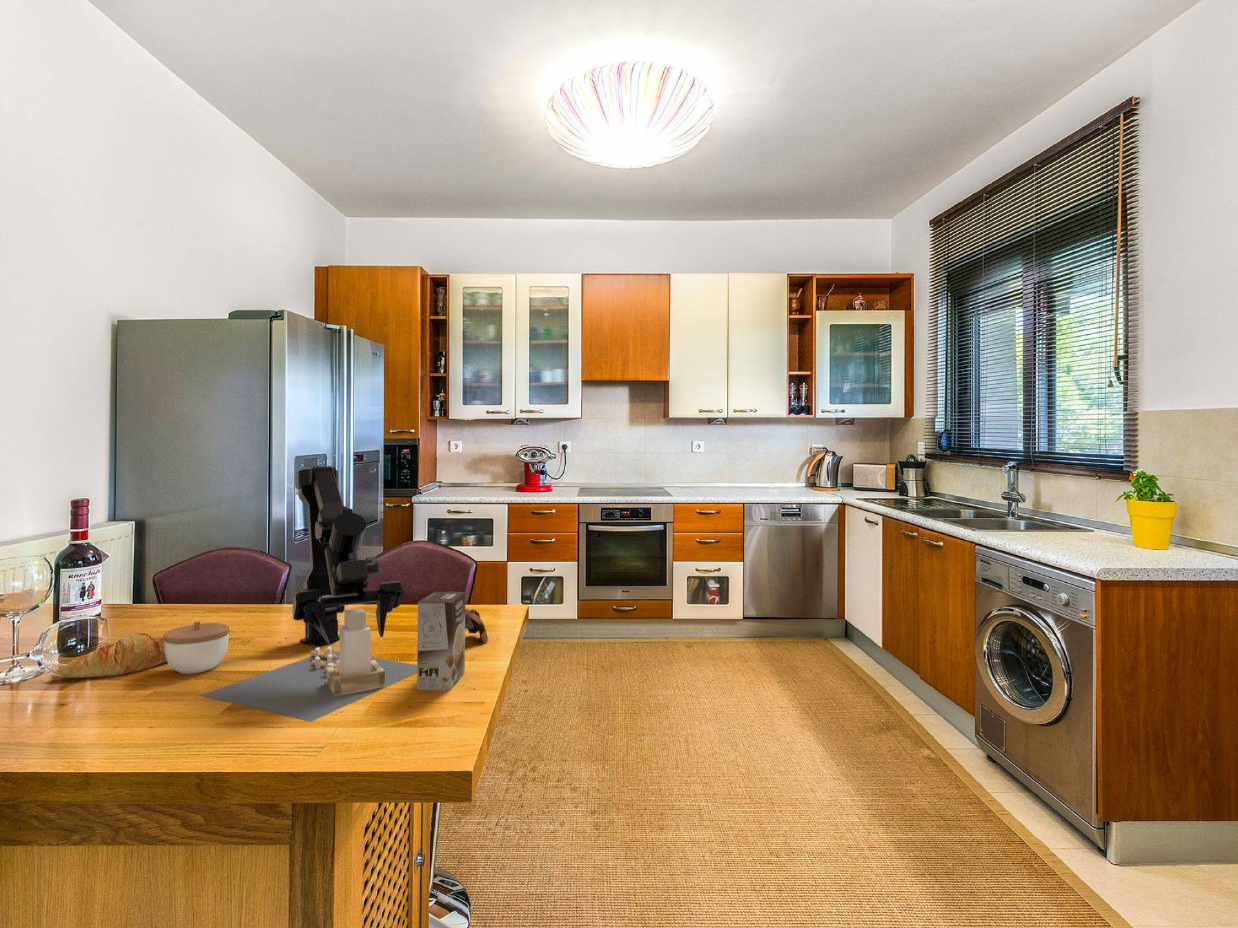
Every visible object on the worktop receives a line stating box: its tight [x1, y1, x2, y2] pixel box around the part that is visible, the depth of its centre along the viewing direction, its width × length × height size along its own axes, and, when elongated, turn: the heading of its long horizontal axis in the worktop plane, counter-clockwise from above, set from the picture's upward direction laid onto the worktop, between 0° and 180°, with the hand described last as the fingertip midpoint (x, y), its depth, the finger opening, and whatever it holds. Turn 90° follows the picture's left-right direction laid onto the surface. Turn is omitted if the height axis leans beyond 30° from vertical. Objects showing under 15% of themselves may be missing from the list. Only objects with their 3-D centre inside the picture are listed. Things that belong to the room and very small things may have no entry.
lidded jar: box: [162, 620, 230, 675], centre depth 125 cm, size 11×11×9 cm
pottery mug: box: [465, 608, 489, 645], centre depth 147 cm, size 12×10×8 cm
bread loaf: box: [56, 632, 168, 679], centre depth 126 cm, size 21×10×8 cm, turn 138°
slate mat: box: [199, 649, 417, 723], centre depth 119 cm, size 26×28×1 cm
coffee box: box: [416, 591, 466, 691], centre depth 120 cm, size 9×6×16 cm
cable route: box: [309, 645, 339, 675], centre depth 127 cm, size 16×5×2 cm, turn 34°
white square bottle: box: [339, 607, 372, 677], centre depth 117 cm, size 4×4×13 cm
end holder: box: [326, 660, 386, 696], centre depth 118 cm, size 8×8×3 cm
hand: (356, 639), depth 116 cm, fingers open, 8 cm apart
